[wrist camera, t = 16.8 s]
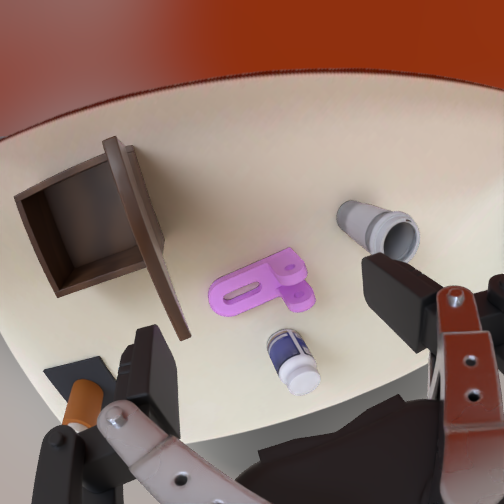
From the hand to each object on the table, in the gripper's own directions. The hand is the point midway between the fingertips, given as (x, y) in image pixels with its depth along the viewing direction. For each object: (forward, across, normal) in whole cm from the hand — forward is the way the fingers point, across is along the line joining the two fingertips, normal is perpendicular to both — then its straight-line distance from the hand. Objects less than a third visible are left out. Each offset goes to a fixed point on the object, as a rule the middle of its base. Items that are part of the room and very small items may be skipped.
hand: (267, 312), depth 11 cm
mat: (+28, +30, +25) cm, 48 cm away
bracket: (+29, -2, +14) cm, 32 cm away
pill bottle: (+29, -4, +26) cm, 39 cm away
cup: (+29, -18, +9) cm, 35 cm away
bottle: (+28, +30, +25) cm, 48 cm away
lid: (+14, +6, -2) cm, 15 cm away
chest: (+28, +14, -2) cm, 32 cm away
